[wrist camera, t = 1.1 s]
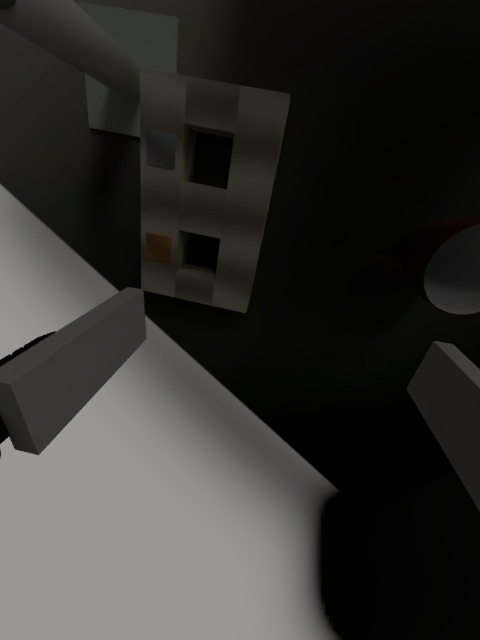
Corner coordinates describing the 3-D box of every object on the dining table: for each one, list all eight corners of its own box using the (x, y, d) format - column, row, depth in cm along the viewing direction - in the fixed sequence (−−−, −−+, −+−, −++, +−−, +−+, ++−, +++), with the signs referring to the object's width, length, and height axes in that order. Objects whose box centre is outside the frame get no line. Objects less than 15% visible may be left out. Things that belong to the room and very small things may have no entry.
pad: (81, 4, 25) (78, 1, 25) (179, 20, 25) (178, 17, 24) (91, 128, 30) (89, 127, 29) (174, 143, 29) (173, 143, 29)
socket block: (158, 83, 27) (138, 66, 23) (289, 107, 26) (290, 93, 23) (154, 280, 37) (140, 290, 33) (249, 301, 36) (245, 313, 33)
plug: (112, 51, 26) (-56, -87, 13) (145, 57, 26) (9, -78, 13) (114, 96, 28) (-34, 12, 15) (145, 102, 28) (24, 22, 15)
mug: (364, 292, 33) (394, 328, 25) (357, 230, 30) (387, 246, 22) (459, 272, 31) (530, 304, 22) (461, 201, 28) (545, 205, 19)
